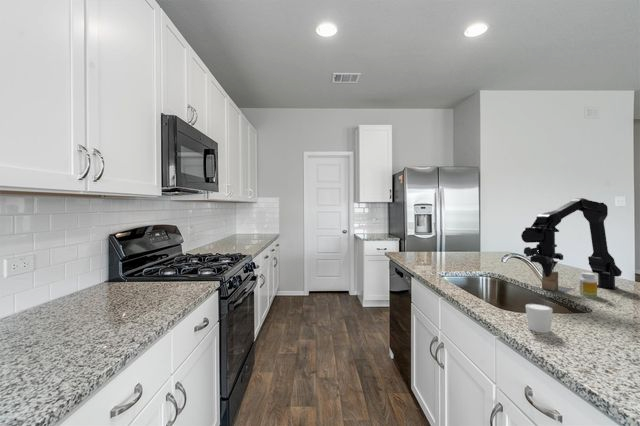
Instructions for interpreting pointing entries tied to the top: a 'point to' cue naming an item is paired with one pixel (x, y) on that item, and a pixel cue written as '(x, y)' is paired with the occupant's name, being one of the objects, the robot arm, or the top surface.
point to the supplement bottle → (588, 285)
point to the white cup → (539, 317)
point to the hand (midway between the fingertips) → (547, 276)
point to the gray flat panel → (560, 290)
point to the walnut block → (550, 281)
